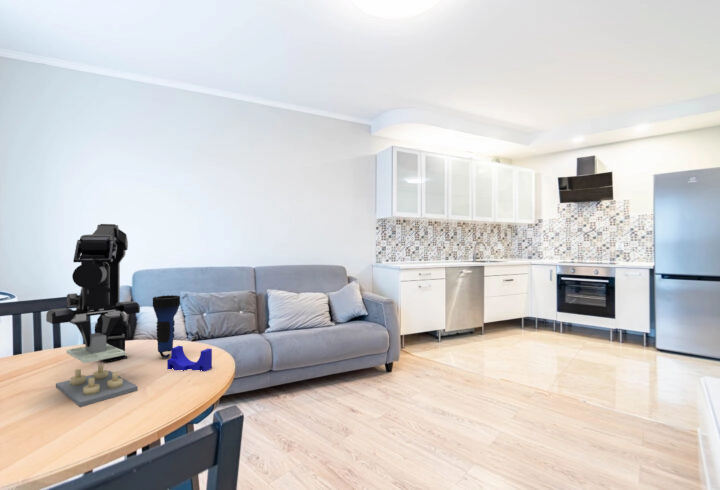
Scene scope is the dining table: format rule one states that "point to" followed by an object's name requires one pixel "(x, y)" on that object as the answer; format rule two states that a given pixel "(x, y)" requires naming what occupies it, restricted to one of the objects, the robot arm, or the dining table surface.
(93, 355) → the board
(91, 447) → the dining table surface
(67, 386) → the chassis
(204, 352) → the blue u-shaped cradle
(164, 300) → the flashlight
